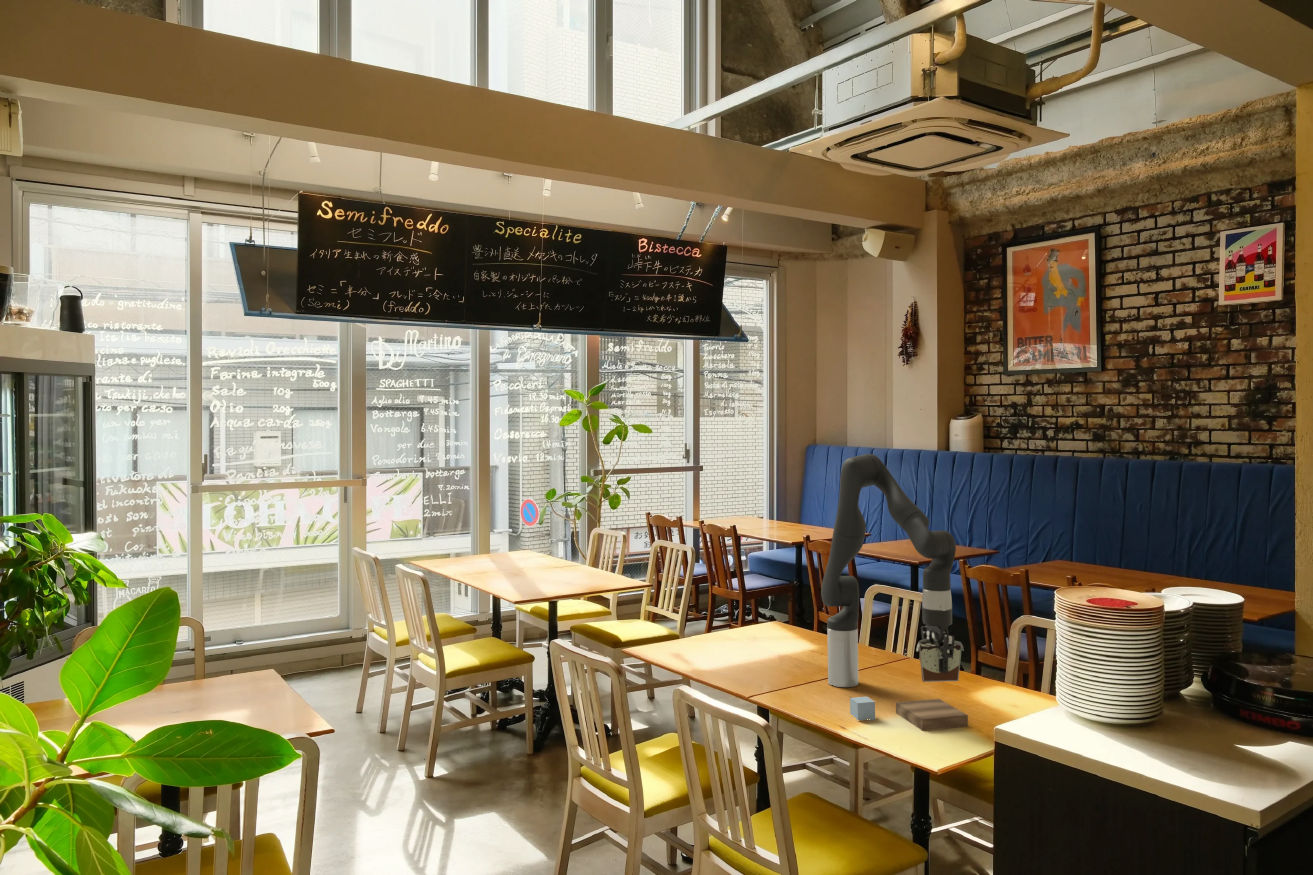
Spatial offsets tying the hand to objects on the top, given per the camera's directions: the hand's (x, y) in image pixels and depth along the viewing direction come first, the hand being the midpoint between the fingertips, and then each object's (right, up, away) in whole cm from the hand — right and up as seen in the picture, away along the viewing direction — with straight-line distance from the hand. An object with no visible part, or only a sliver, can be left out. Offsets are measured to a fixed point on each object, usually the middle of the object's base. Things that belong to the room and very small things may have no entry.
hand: (937, 669), depth 236 cm
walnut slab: (-1, -14, +3) cm, 15 cm away
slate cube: (-19, -15, +6) cm, 25 cm away
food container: (0, -3, +1) cm, 3 cm away
